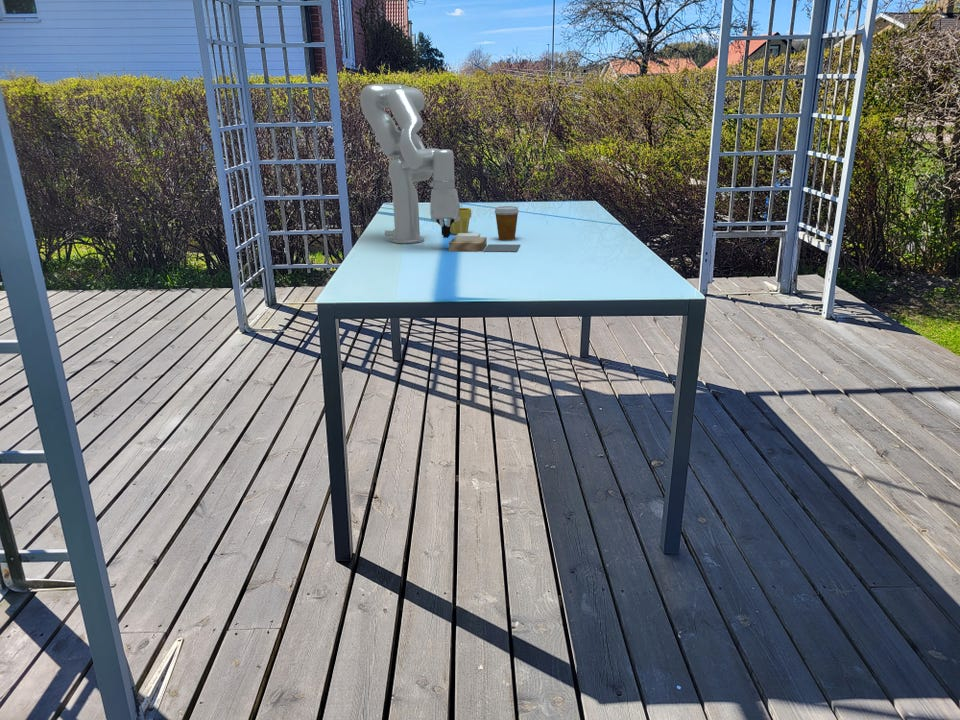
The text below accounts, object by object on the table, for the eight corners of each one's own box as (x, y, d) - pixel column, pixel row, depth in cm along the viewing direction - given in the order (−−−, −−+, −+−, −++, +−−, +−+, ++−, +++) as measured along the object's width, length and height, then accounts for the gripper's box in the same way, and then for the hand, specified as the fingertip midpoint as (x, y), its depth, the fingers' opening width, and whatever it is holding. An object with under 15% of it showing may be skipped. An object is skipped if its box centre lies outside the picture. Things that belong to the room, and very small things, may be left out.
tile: (455, 241, 255) (455, 235, 254) (458, 238, 261) (458, 233, 260) (477, 241, 254) (477, 236, 253) (480, 238, 260) (479, 233, 259)
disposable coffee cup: (521, 237, 279) (521, 206, 275) (516, 241, 270) (516, 209, 266) (497, 236, 281) (497, 205, 277) (492, 240, 272) (491, 209, 268)
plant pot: (443, 232, 294) (442, 208, 290) (467, 230, 296) (467, 206, 293) (450, 236, 284) (449, 211, 281) (474, 234, 287) (474, 209, 284)
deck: (449, 251, 254) (448, 242, 253) (454, 245, 265) (454, 237, 264) (482, 251, 252) (482, 243, 251) (486, 245, 263) (486, 237, 262)
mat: (483, 251, 251) (483, 250, 251) (488, 245, 264) (488, 244, 263) (517, 252, 250) (517, 251, 250) (520, 245, 262) (520, 244, 262)
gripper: (421, 187, 250) (423, 239, 256) (463, 186, 247) (464, 239, 253) (425, 184, 257) (428, 235, 263) (466, 184, 254) (468, 235, 260)
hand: (446, 237), depth 258 cm, fingers closed
